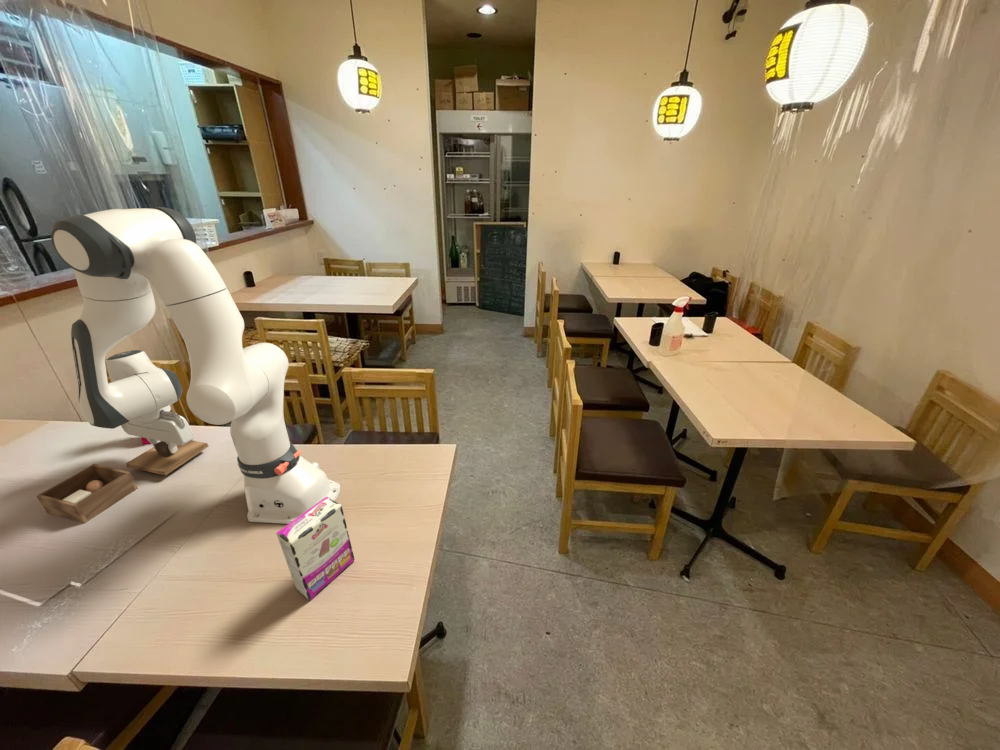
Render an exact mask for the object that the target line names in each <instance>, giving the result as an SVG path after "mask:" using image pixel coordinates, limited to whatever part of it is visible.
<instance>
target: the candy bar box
mask: <svg viewBox="0 0 1000 750" xmlns="http://www.w3.org/2000/svg"><path fill="white" fill-rule="evenodd" d="M346 522H347V521H346V518H345V515H344V509H343V506H342V504H341V503H338V502H337V501H336V500H335V501H333V500H331V498H329V497H327V496H326V497H325V498H324V499H322V500H321V501H320V502H318V503H317V504H315V505H314V506H313V507H311V508H310V509H308V510H307V511H306V512H304V513H303V514H301V515H300V516H299V517H297V518H296V519H294V520H293V521H292V522H290V523H289V524H285V525H284V526H283V527H282V528H280V529H279V530H277V531H276V532H275V533H276V536H277V540H278V542H279V544H280V546H281V550H282V553H283V556H284V559H285V561H286V564H287V566H288V570H289V572H290V576H291V578H292V581H293V583H294V586H295V589H296V590H297V591H298V593H301V594H302V595H303V596H304V597H305V598H306V599H307V600H308V601H312V600H313V599H314V598H315V597H316V596H317V595H319V594H320V593H321V592H323V590H324V589H326V587H328V585H329V584H331V583H332V582H333V581H334V580H335V579H336V578H338V576H339V575H340V574H341V573H343V572H344V571H345V570H346V569H347V568H348V567H349V566H350V565H351V564H353V563H354V562H355V561H356V560H355V556H354V552H353V547H352V543H351V539H350V535H349V530H348V526H347V523H346ZM354 560H355V561H354ZM353 561H354V562H353ZM352 562H353V563H352ZM342 571H343V572H342ZM330 582H331V583H330Z"/></svg>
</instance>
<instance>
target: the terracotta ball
mask: <svg viewBox="0 0 1000 750" xmlns="http://www.w3.org/2000/svg"><path fill="white" fill-rule="evenodd" d="M102 487H104V484H103V482H102V481H100V480H93V481H91V482H89V483H88V484H87V485H86V490H87V491H88V492H91V493H94V492H95V491H97V490H99V489H100V488H102Z"/></svg>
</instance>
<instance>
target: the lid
mask: <svg viewBox="0 0 1000 750" xmlns="http://www.w3.org/2000/svg"><path fill="white" fill-rule="evenodd" d="M154 446H155V448H156V450H155V448H154ZM154 446H153V447H150V448H149V449H148V450H146V451H145V452H143V453H141V454H140V455H137V456H136V457H135V458H133V459H130V460H129V461H127V462H125V465H126V466H127V468H130V469H136V470H141V471H143V472H144V471H145V472H149V473H154V474H158V475H163V476H167V475H168V474H170V473H171V472H173V471H174V470H176V469H177V468H179V467H180V466H182V465H184V464H185V463H186V462H188V461H189V460H191V459H193V458H194V457H195V456H197V455H198V454H200V453H202V452H203V451H204V450H206V449H207V448H209V445H208V443H207V442H203V441H197V440H194V439H192V440H191V441H189V442H188V443H186V444H184V445H178V444H177V445H176V446H177V448H178V451H176V452H175V453H169V452H168V451H167V449H166V448H167V447H168V444H166V442H163V441H160V442H158V443H157V444H155V445H154Z"/></svg>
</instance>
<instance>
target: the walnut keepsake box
mask: <svg viewBox="0 0 1000 750" xmlns="http://www.w3.org/2000/svg"><path fill="white" fill-rule="evenodd" d="M93 480H100V481H102V482H103V484H104V487H102V488H100V489H99V490H97V491H95V492H94V493H92V494H90V495H89V496H87V497H86V498H84V499H82V500H81V501H79V502H77V503H76V504H75V503H71V502H67V501H64V500H63V499H65V498H66V497H68V496H70V495H71V494H73V493H75V492H76V491H78V490H84V491H87V490H86V485H87V484H88V483H89V482H91V481H93ZM138 489H139V487H138V485H137V483H136V481H135V480H134V478H133V476H132V474H131V471H126V470H123V469H118V468H115V467H110V466H104V465H100V464H96V463H93V464H92V465H90V466H88V467H86V468H84V469H82V470H81V471H79V472H77V473H76V474H73V475H71V476H70V477H68V478H66V479H64V480H62V481H61V482H59V483H57V484H55V485H54V486H51V487H50V488H48V489H47V490H44V491H43V492H41V493H39V494H37V495H36V498H37V499H38V501H39V502H40V504H41V505H42V507H43V508H44V510H45V512H47V514H50V515H54V516H58V517H61V518H64V519H67V520H72V521H75V522H79V523H83V524H86V523H88V522H89V521H91V520H92V519H94V518H96V517H97V516H98V515H100V514H102V513H103V512H104V511H106V510H108V509H109V508H111V507H112V506H114V505H116V504H117V503H118V502H120V501H121V500H123V499H125V498H126V497H128V496H129V495H130V494H132V493H133V492H135V491H136V490H138Z"/></svg>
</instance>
